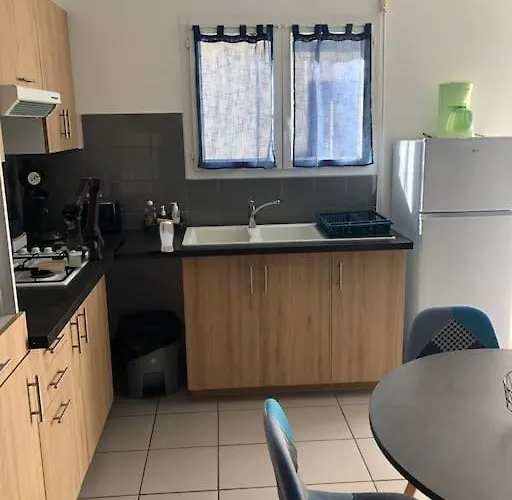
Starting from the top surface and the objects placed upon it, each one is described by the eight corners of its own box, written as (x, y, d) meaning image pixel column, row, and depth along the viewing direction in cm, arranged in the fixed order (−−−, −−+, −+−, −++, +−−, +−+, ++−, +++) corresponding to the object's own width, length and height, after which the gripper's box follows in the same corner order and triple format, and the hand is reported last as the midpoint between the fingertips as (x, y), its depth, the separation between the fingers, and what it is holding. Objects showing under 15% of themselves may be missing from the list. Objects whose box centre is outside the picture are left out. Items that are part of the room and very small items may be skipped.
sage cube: (71, 265, 265) (70, 254, 264) (82, 265, 265) (82, 254, 264) (69, 267, 260) (68, 256, 259) (81, 267, 260) (80, 256, 260)
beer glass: (164, 249, 304) (164, 221, 301) (176, 250, 302) (175, 221, 299) (158, 251, 298) (157, 222, 295) (169, 252, 295) (168, 223, 292)
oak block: (42, 269, 258) (42, 260, 258) (66, 268, 260) (65, 259, 259) (38, 274, 249) (37, 265, 248) (62, 273, 250) (62, 264, 250)
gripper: (48, 233, 250) (51, 268, 253) (93, 232, 253) (95, 267, 256) (53, 229, 261) (55, 263, 264) (96, 228, 264) (97, 262, 267)
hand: (76, 264), depth 262 cm, fingers closed on sage cube, 5 cm apart
